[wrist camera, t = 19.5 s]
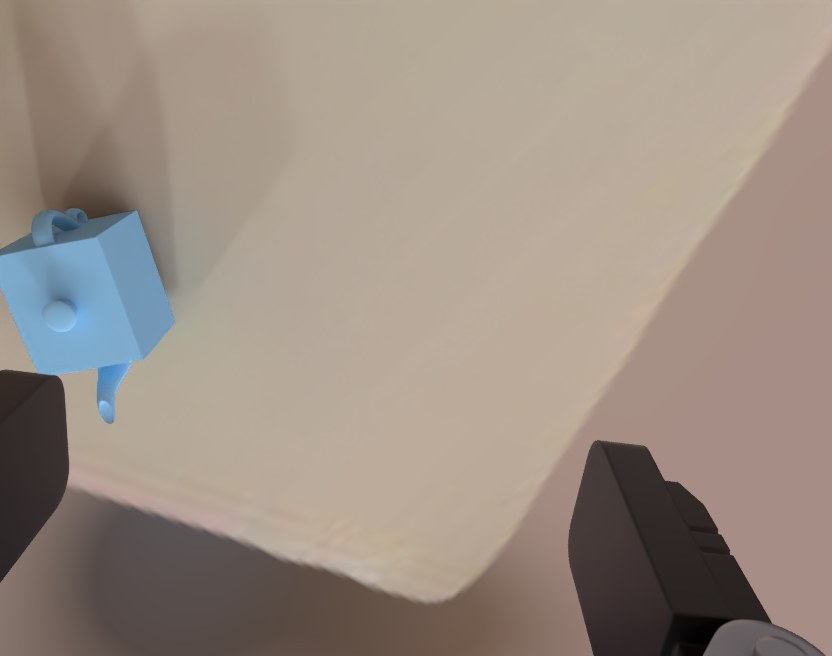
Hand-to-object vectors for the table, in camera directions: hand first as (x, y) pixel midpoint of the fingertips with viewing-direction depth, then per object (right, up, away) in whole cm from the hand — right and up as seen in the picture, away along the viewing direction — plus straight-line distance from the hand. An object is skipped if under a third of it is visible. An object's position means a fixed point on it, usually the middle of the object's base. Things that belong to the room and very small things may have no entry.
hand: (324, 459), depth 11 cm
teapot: (-17, +5, +34) cm, 39 cm away
